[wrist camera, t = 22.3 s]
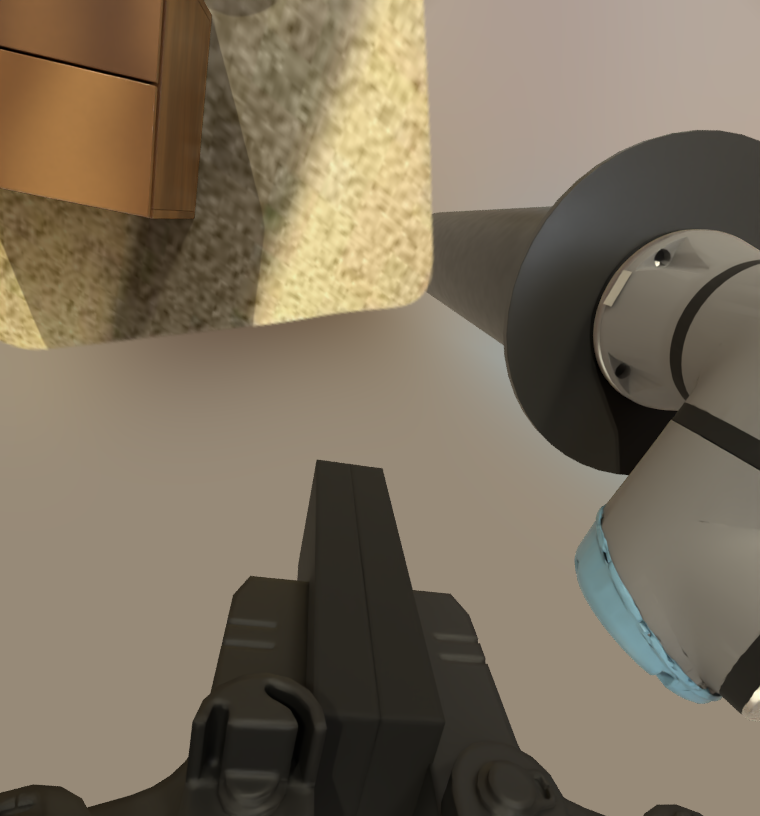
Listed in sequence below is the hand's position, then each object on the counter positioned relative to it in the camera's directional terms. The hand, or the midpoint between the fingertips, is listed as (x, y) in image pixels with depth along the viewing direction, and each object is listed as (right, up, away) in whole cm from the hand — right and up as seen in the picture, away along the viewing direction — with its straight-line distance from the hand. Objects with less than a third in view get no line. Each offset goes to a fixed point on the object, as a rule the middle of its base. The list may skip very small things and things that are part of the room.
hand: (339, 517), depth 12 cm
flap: (-18, +17, +15) cm, 29 cm away
